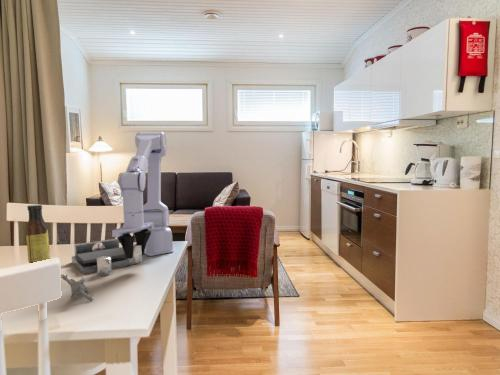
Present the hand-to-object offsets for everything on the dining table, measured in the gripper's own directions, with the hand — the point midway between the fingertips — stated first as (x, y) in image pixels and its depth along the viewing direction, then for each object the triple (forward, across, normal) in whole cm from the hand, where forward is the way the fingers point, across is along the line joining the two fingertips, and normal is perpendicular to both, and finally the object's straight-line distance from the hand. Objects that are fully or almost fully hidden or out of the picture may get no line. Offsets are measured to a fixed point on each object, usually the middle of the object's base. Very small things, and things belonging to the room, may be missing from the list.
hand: (135, 256), depth 109 cm
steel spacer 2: (+2, 0, 0) cm, 2 cm away
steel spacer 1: (+5, +6, -7) cm, 10 cm away
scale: (+5, -1, -17) cm, 17 cm away
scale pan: (+2, 0, -14) cm, 14 cm away
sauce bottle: (+5, +10, -34) cm, 36 cm away
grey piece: (+5, +22, +3) cm, 23 cm away
